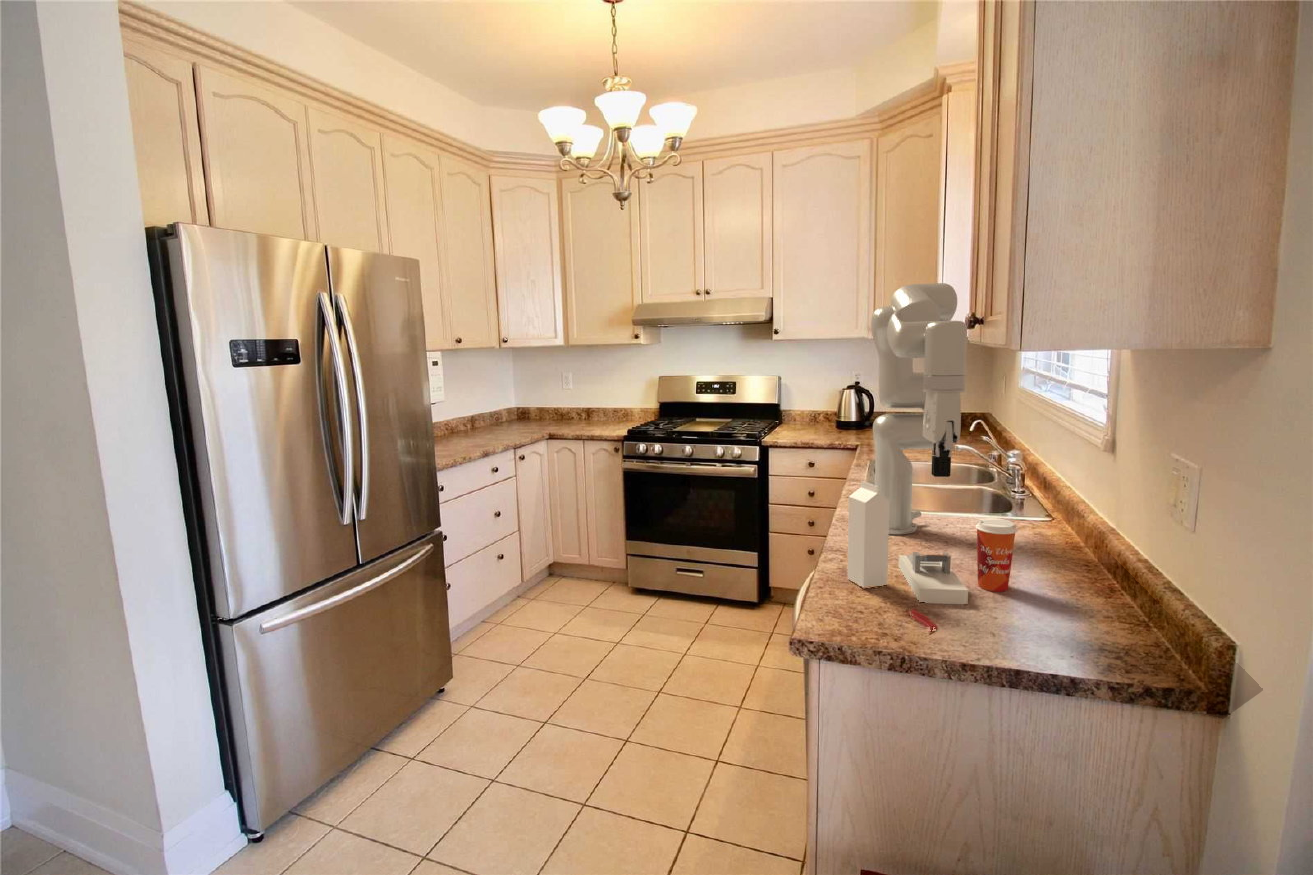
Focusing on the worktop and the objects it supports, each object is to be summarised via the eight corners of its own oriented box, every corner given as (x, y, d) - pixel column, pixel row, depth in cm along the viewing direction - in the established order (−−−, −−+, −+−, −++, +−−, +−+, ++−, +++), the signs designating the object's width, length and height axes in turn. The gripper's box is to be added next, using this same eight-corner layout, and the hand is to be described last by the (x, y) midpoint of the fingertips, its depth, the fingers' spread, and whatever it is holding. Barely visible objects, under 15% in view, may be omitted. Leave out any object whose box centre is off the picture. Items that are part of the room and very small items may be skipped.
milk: (870, 576, 145) (873, 479, 142) (887, 586, 139) (891, 484, 136) (846, 580, 143) (848, 481, 140) (863, 590, 137) (865, 487, 134)
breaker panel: (898, 567, 150) (899, 539, 149) (939, 568, 148) (941, 540, 147) (919, 602, 130) (920, 570, 129) (967, 604, 129) (969, 571, 128)
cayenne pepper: (940, 639, 116) (940, 629, 115) (912, 636, 117) (912, 626, 117) (931, 612, 127) (931, 602, 127) (906, 609, 128) (906, 600, 128)
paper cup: (977, 592, 134) (980, 526, 132) (968, 579, 142) (972, 516, 140) (1019, 595, 133) (1023, 528, 130) (1008, 581, 140) (1012, 518, 138)
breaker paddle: (916, 561, 143) (916, 555, 143) (935, 561, 142) (935, 555, 142) (926, 561, 134) (926, 554, 134) (947, 561, 133) (947, 555, 134)
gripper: (915, 382, 137) (912, 469, 139) (934, 387, 122) (930, 483, 124) (953, 382, 135) (949, 469, 138) (976, 386, 121) (972, 483, 123)
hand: (940, 475), depth 131 cm, fingers closed
